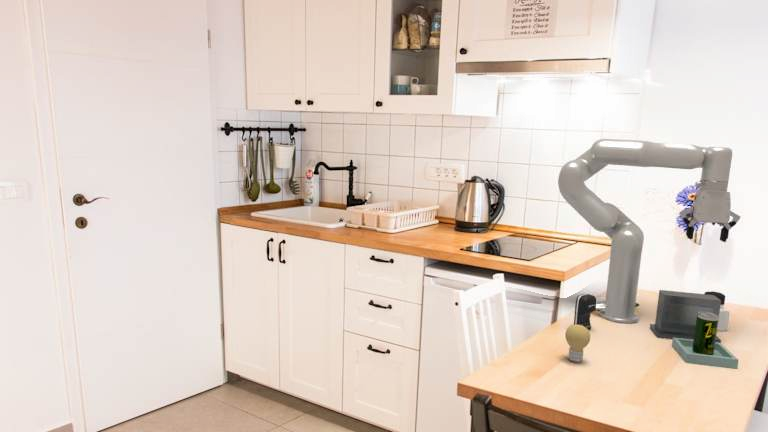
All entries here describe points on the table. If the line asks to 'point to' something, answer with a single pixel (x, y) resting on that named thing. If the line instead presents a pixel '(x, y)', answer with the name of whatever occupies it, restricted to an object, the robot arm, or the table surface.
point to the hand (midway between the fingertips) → (706, 239)
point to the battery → (584, 310)
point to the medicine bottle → (721, 311)
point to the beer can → (705, 333)
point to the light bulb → (577, 341)
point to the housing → (681, 313)
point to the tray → (719, 358)
